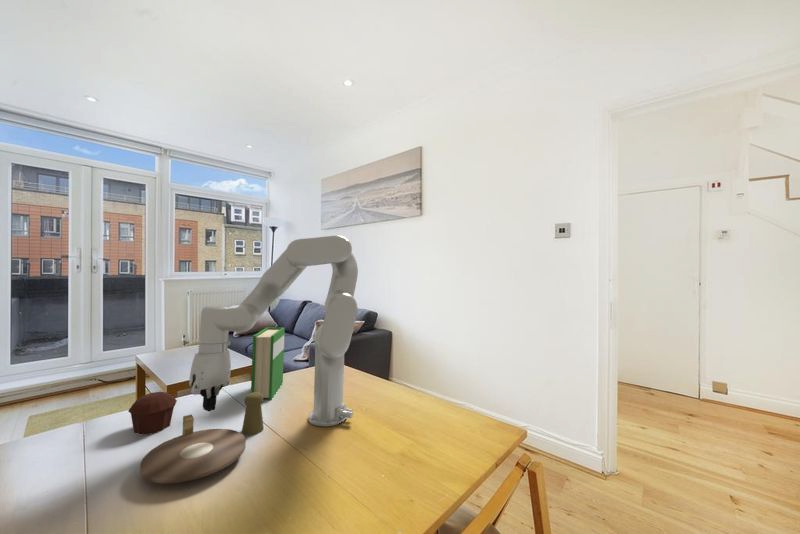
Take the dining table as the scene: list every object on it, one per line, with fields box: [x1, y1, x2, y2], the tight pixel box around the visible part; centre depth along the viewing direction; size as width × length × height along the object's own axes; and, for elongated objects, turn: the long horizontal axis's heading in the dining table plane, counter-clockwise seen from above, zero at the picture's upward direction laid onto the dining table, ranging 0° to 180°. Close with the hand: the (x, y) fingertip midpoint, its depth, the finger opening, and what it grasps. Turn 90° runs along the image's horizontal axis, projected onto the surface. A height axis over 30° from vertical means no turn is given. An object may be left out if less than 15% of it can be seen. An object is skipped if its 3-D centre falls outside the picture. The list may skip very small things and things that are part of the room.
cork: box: [241, 392, 265, 436], centre depth 96 cm, size 6×6×11 cm
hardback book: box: [250, 327, 286, 401], centre depth 127 cm, size 18×7×24 cm, turn 7°
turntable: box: [139, 414, 247, 484], centre depth 80 cm, size 23×22×5 cm
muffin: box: [128, 391, 178, 435], centre depth 96 cm, size 12×11×10 cm
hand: (209, 409), depth 94 cm, fingers closed
